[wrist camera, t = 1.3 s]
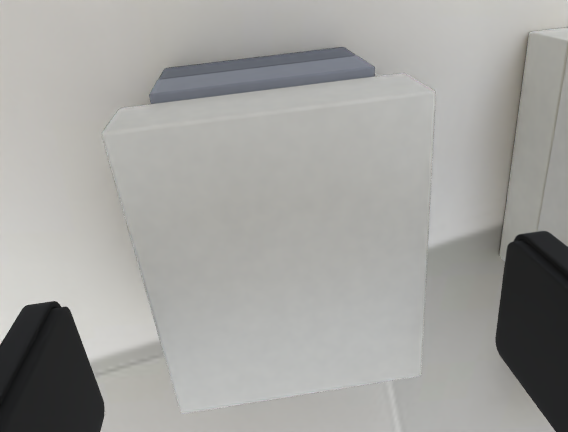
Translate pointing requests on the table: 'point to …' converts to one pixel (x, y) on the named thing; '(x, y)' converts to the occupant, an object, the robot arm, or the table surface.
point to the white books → (540, 143)
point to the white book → (281, 234)
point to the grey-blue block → (259, 74)
